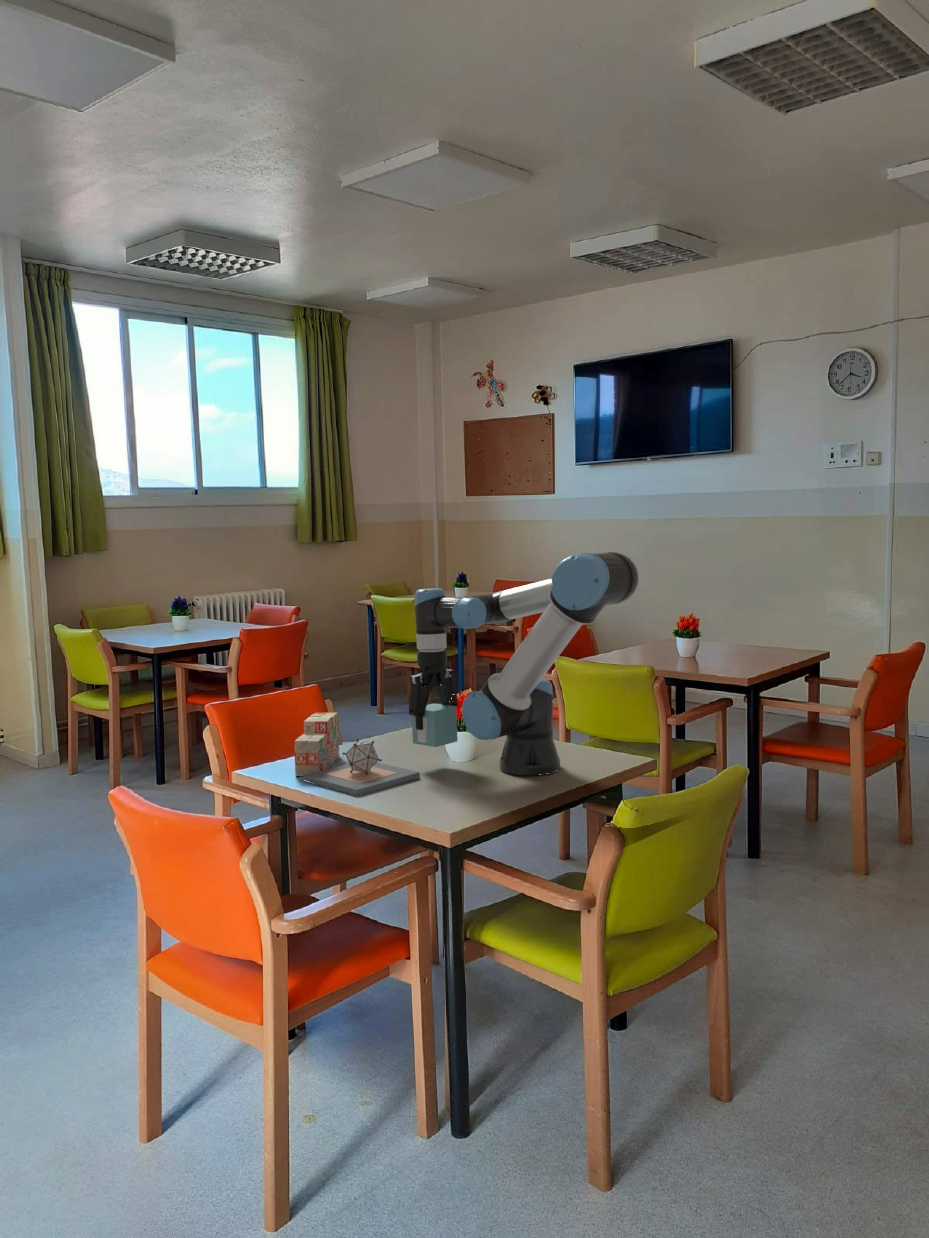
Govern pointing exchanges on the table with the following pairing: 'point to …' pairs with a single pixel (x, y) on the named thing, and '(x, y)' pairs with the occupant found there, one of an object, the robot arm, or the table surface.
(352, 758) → the grey icosahedron
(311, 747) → the stack of blocks
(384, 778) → the baseplate
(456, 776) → the table surface
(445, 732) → the teal block
